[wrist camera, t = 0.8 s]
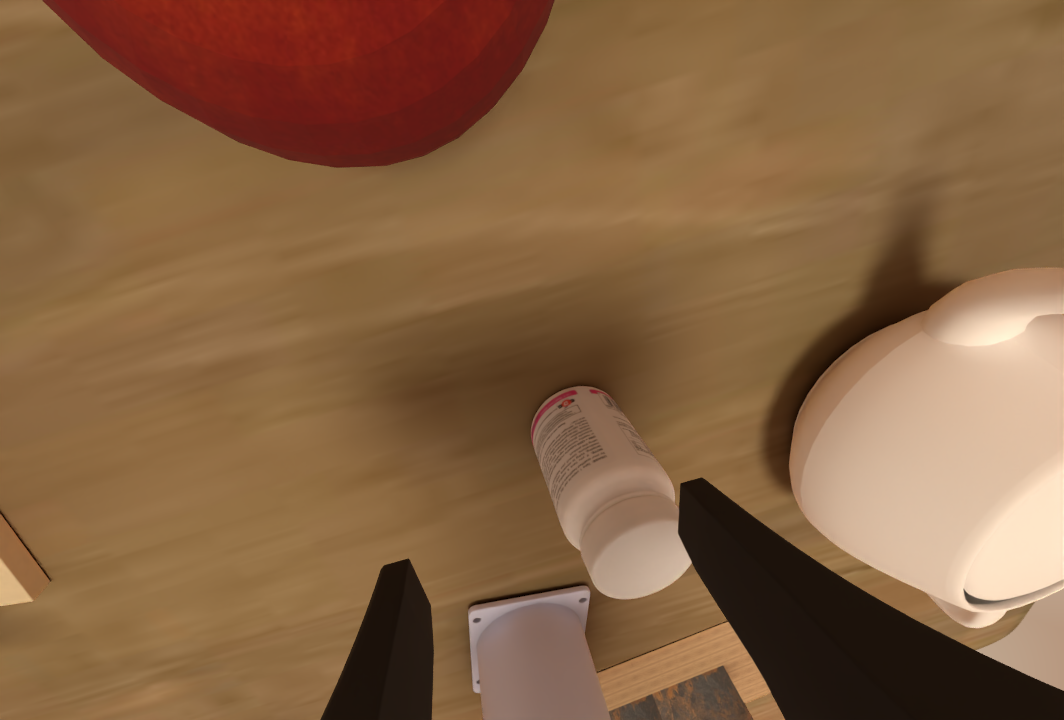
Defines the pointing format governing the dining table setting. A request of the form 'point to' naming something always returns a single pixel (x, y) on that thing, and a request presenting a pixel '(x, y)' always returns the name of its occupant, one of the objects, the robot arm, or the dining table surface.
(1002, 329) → the teapot
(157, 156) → the dining table surface
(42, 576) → the bracket
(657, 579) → the pill bottle
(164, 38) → the apple
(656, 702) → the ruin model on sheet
